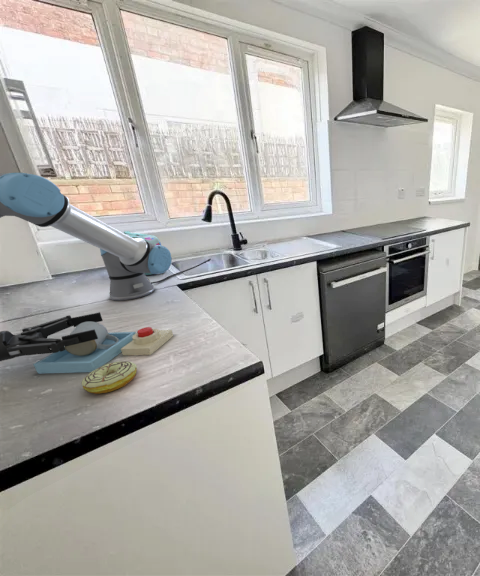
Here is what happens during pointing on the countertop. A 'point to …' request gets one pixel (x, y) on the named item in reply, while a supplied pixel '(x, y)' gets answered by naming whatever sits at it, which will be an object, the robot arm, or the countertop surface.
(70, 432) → the countertop surface
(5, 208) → the robot arm
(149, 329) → the button
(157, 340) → the control block
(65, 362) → the shallow blue tray
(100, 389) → the decorated donut
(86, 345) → the ceramic mug
